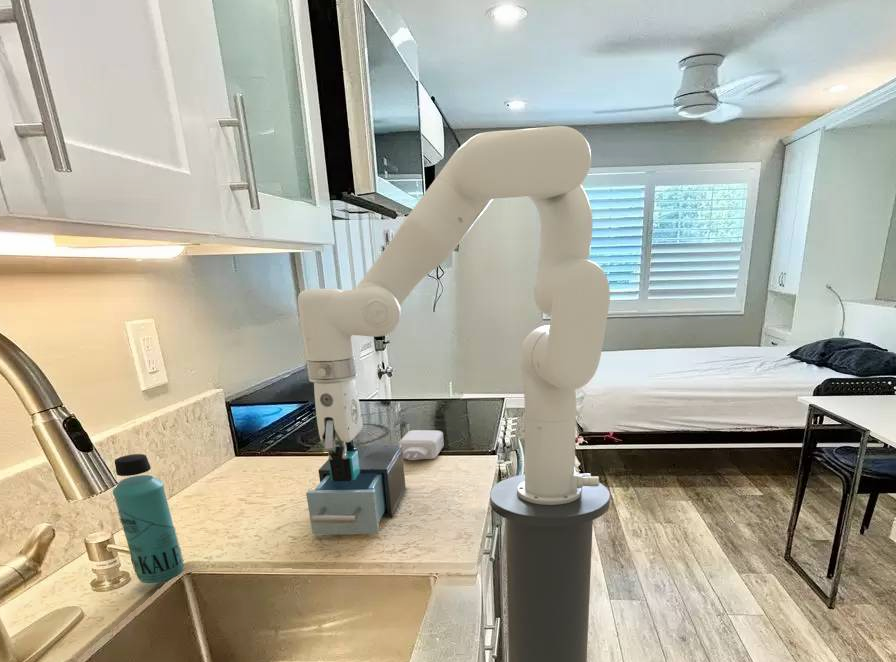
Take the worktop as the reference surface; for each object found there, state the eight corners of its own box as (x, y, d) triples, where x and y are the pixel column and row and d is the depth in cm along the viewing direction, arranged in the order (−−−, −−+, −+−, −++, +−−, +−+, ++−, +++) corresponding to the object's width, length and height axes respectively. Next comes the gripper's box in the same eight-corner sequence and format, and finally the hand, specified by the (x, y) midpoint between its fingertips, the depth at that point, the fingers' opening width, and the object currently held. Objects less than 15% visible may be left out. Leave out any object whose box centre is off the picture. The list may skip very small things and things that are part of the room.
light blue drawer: (371, 547, 93) (366, 503, 90) (302, 548, 94) (295, 504, 91) (393, 503, 110) (389, 465, 107) (335, 503, 111) (329, 466, 108)
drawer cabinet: (392, 517, 106) (387, 469, 103) (325, 518, 107) (318, 470, 103) (405, 488, 120) (401, 445, 116) (346, 489, 120) (340, 446, 117)
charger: (392, 467, 133) (408, 447, 146) (430, 468, 132) (444, 448, 145) (390, 447, 131) (407, 430, 145) (429, 448, 130) (442, 430, 144)
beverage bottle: (158, 570, 90) (124, 449, 82) (197, 571, 89) (166, 449, 81) (128, 592, 84) (89, 463, 76) (170, 594, 83) (135, 464, 75)
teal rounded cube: (360, 472, 101) (357, 450, 99) (354, 480, 97) (351, 458, 96) (337, 472, 101) (334, 451, 99) (331, 480, 97) (328, 458, 96)
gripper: (340, 379, 84) (355, 493, 91) (367, 360, 100) (378, 460, 107) (290, 380, 84) (308, 494, 91) (324, 361, 100) (338, 460, 107)
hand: (346, 474), depth 99 cm, fingers closed on teal rounded cube, 3 cm apart
